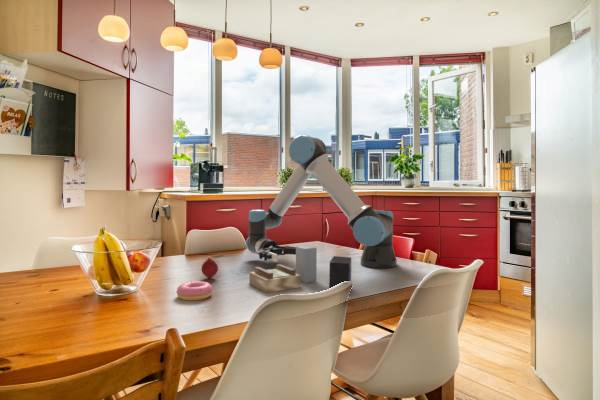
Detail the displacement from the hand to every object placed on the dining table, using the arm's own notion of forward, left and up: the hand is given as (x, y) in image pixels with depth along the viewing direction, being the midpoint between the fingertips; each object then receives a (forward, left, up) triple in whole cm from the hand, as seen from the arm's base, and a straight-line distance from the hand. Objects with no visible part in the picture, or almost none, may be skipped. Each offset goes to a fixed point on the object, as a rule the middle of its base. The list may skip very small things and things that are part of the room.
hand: (292, 256), depth 152 cm
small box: (-11, +25, -7) cm, 28 cm away
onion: (+31, 0, -7) cm, 32 cm away
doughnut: (+35, +22, -7) cm, 42 cm away
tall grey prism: (-3, +9, -7) cm, 12 cm away
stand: (+9, +14, -7) cm, 18 cm away
